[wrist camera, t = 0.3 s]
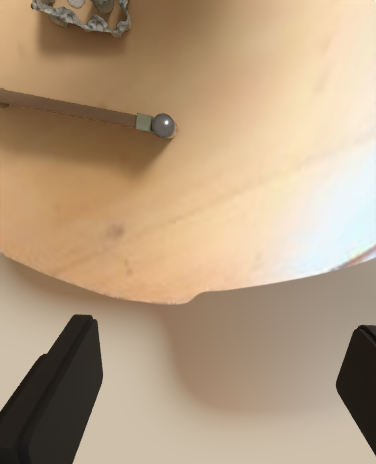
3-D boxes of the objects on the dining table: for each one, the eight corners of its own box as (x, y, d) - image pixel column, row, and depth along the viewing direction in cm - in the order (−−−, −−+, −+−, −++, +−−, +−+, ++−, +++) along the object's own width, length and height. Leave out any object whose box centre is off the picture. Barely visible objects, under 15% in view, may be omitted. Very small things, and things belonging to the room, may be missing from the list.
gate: (10, 92, 32) (-35, 80, 26) (158, 121, 33) (151, 115, 27) (10, 105, 33) (-33, 96, 26) (157, 133, 34) (149, 131, 27)
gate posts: (-9, 85, 32) (-70, 68, 25) (178, 122, 33) (175, 115, 26) (-7, 105, 33) (-66, 94, 25) (176, 140, 34) (172, 139, 27)
